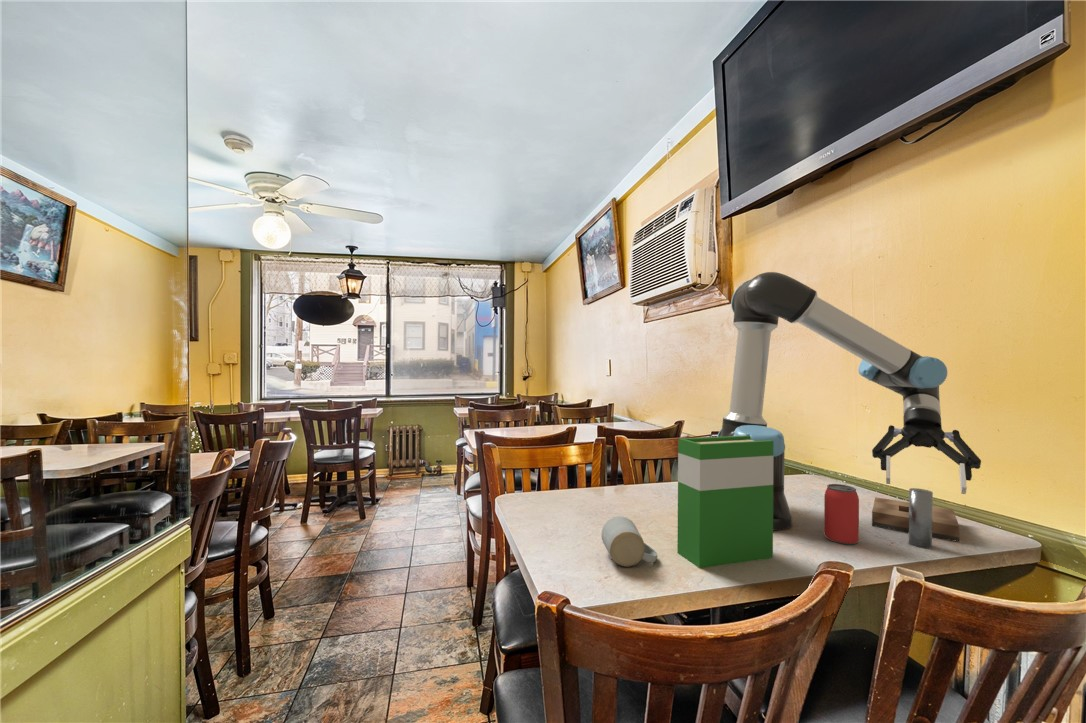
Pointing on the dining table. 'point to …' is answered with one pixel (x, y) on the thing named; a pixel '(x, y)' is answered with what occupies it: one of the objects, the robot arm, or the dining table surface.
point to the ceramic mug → (626, 542)
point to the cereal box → (725, 500)
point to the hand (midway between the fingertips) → (924, 485)
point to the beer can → (841, 514)
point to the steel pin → (920, 517)
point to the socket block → (897, 518)
